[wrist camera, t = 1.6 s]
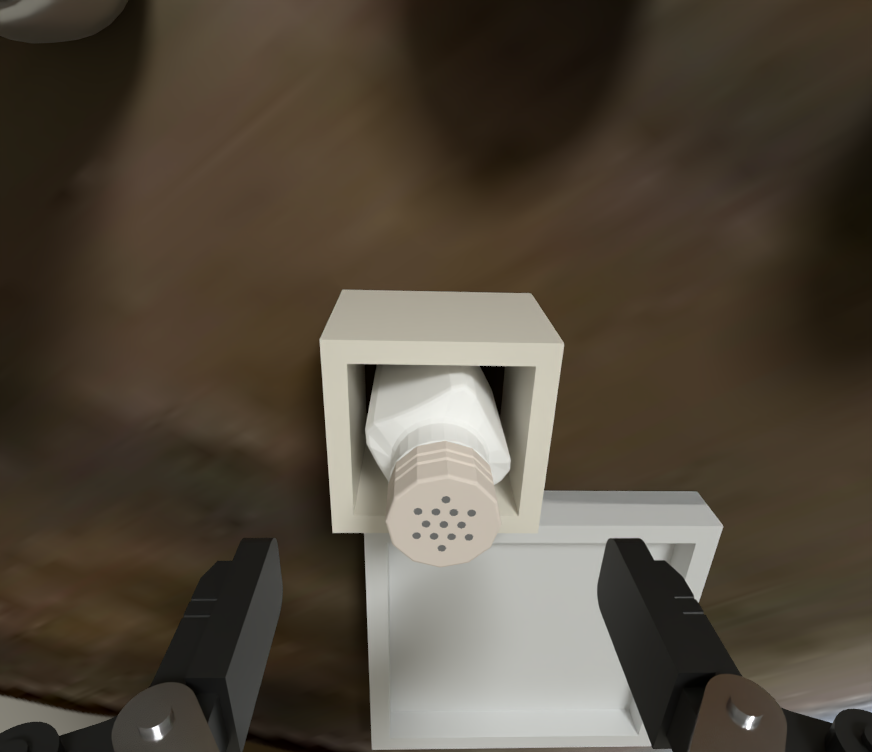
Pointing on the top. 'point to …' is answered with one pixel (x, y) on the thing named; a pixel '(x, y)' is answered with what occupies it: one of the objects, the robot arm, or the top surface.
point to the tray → (519, 628)
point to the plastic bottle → (56, 19)
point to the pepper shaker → (438, 459)
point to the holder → (438, 345)
